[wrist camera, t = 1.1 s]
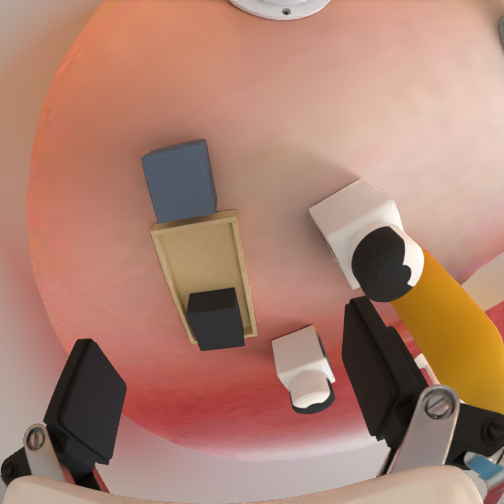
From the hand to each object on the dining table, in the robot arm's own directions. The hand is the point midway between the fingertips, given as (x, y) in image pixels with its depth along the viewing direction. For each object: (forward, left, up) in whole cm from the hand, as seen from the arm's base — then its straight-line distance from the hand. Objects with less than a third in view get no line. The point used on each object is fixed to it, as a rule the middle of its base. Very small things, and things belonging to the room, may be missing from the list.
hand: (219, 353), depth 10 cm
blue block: (-1, -4, -23) cm, 24 cm away
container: (+7, +14, -24) cm, 28 cm away
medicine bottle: (+28, +7, -24) cm, 37 cm away
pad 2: (+17, -4, -23) cm, 29 cm away
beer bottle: (+17, +24, -24) cm, 37 cm away
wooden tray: (+13, -4, -23) cm, 27 cm away
